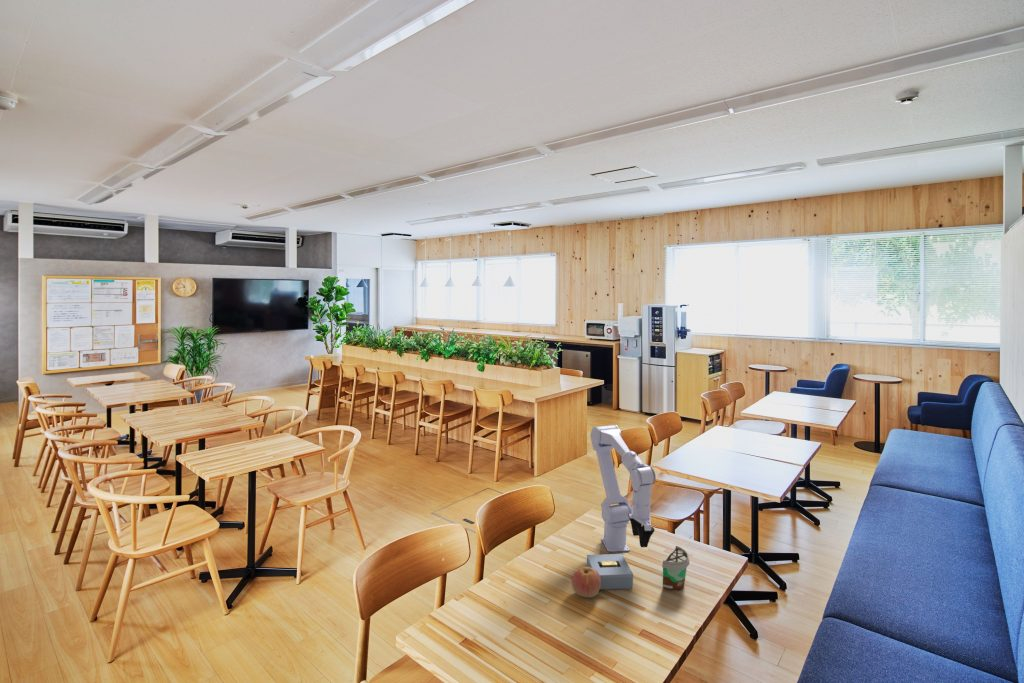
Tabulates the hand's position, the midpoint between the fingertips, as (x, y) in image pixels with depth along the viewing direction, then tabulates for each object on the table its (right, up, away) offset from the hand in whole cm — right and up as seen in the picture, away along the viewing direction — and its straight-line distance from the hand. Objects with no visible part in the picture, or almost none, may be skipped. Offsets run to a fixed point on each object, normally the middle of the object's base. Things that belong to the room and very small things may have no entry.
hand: (639, 540), depth 174 cm
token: (-12, -10, -6) cm, 16 cm away
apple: (-20, -11, -14) cm, 27 cm away
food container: (+10, -11, -9) cm, 17 cm away
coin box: (-12, -10, -6) cm, 16 cm away
